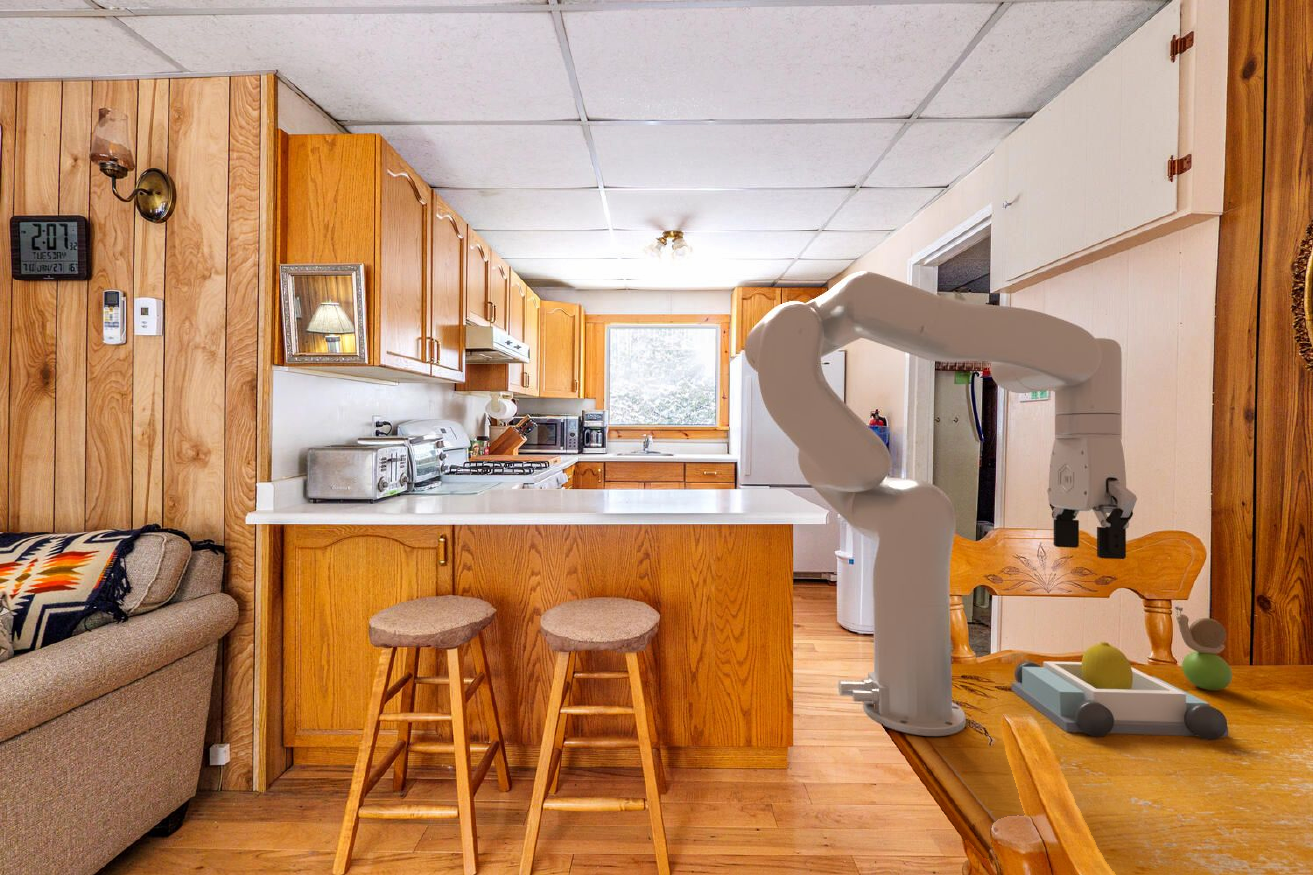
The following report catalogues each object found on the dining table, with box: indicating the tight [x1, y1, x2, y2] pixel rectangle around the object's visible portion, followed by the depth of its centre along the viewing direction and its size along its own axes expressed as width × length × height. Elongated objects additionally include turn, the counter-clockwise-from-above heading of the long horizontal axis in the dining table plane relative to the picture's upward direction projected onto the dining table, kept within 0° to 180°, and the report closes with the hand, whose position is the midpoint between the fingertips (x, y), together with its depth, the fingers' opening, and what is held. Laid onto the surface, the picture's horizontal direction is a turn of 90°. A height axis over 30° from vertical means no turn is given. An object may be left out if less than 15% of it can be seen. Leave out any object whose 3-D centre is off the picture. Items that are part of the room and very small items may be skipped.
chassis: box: [1011, 660, 1230, 741], centre depth 79 cm, size 19×15×5 cm
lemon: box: [1081, 641, 1133, 690], centre depth 80 cm, size 6×6×8 cm
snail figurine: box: [1174, 605, 1233, 691], centre depth 87 cm, size 5×6×12 cm
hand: (1087, 552), depth 81 cm, fingers open, 9 cm apart
